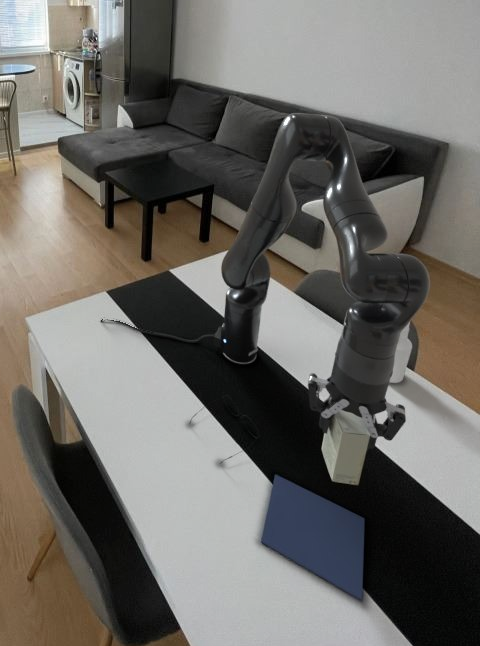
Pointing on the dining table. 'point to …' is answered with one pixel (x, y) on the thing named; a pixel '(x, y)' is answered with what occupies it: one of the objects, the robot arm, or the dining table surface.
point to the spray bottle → (401, 356)
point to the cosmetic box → (345, 447)
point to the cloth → (316, 535)
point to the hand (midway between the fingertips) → (344, 436)
